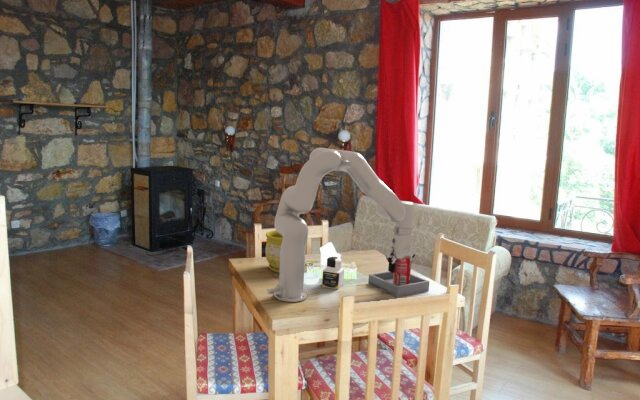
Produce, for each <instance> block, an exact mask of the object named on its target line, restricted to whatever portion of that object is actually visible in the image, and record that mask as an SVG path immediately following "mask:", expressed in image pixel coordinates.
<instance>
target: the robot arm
mask: <svg viewBox="0 0 640 400" xmlns="http://www.w3.org/2000/svg"><path fill="white" fill-rule="evenodd" d="M333 171H336V172H337V171H338V172H345V173H347V174H348V175H349V176H350V178H351V179H352V180H353V182H354V183H355V184H356V186H357V187H358V188H359V190H360V191H361V192H362V193H363V194H364V195H366V196H367V197H368V198H370V199H372V200H373V201H375V202H376V203H377V205H376V207H375V212H376V214H377V215H378V216H379V217H380V218H382V219H385V220H389V221H391V222H393V223H394V224H393V225H394V226H393V227H394V228H393V229H392V232H393V233H392V237H391V241H390V247H389V250H387V251H386V252H385V253H384V256H385V259H386V260H387V263H388V269H387V272H388V271H389V272H392V273H394V272H395V263H394V262H395V261H396V259H402V258H403V257H409V256H410V258H411V264H412V261H414V258H415V256H416V253H417V251H418V250H417V249H416V248H415V238H414V234H413V226H414V225H413V224H414V215H415V204H414V202H413V201H407V200H401V199H399V197H398V196H397V194H396V193H394V192H393V190H392V189H390V187H388V186H387V185H386V184H385V183H384V181H382V179H380V178H379V176H378V175H377V174H376V172H375V171H374V170H373V168H372V167H371V166H370V164H369V162H368V161H367V160H366V159H365V158H364V156H363V155H362V154H361V153H359V152H357V151H350V150H344V149H341V150H340V149H332V148H325V147H316V148H315V149H313V150H311V151H310V154H309V159H308V160H307V161H306V162H305V163H304V164H303V165H302V167H301V169H300V171H299V173H298V176H297V179H296V182H295V185H290V186H289V187H286V189H285V190H284V191H283V193H282V194H281V197H280V200H279V203H278V207H277V209H276V212H275V213H276V214H275V218H274V230H276V231H277V232H278V233H279V234H280V235H282V236H283V241H282V245H281V250H280V270H279V273H278V274H279V277H278V284H276V285H275V287H273V288H269V289H266V294H267V295H272V294H273V297H274V298H275V299H276V300H279V301H281V302H288V303H294V302H295V303H296V302H302V301H305V300H306V299H307V297H308V294H307V293H306V292H305V291H304V284H305V283H304V281H305V264H306V263H305V261H306V248H307V243H308V238H309V227H308V224H307V222H306V221H305V219H303V218H302V217H300V215H304V214H307V213H310V211H311V210H312V208H313V207H314V203H315V199H316V196H317V194H318V193H317V192H318V188H319V186H320V183H321V181H322V179H323V178H324V177H325V176H326V175H327V174H329V173H330V172H333Z"/></svg>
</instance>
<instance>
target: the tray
mask: <svg viewBox="0 0 640 400" xmlns="http://www.w3.org/2000/svg"><path fill="white" fill-rule="evenodd" d="M367 284H368V285H371V286H373V287H375V288H377V289H379V290H381V291H384V292H386V293H387V294H390V295H393V296H395V297H396V298H397V297H402V296H407V295H412V294H417V293H422V292H423V293H424V292H428V291H429V289H430V281H429V280H427V279H425V278H422V277H420V276H417V275H415V274H412V273H410V284H406V285H401V286H397V285H394V283H393V273H392V272H389V271H388V270H387V271H383V272H376V273H370V274H368V283H367ZM427 290H428V291H427Z"/></svg>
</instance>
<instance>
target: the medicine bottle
mask: <svg viewBox="0 0 640 400" xmlns="http://www.w3.org/2000/svg"><path fill="white" fill-rule="evenodd" d="M342 261H343V260H342V258H340V257H337V256H330V257H327V259H326V268H325V269H323V270H322V280H321V284H322V285H321V287H322V288H328V289H333V290H339V289H340V288H341V287H343V285H344V277H345V268H342Z"/></svg>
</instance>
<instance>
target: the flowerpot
mask: <svg viewBox="0 0 640 400" xmlns="http://www.w3.org/2000/svg"><path fill="white" fill-rule="evenodd" d="M265 237H266V244H265V248H264V249H265V253H264V254H265V258H266V261H267V262H268V268H270V270H271V271H272V272H275V273H278V274H279V270H280V250H281V245H282V241H283V236H282V235H280V234H279V233H278V232H277V231H276V229H274V230H270V231H268V232H266V234H265Z"/></svg>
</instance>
